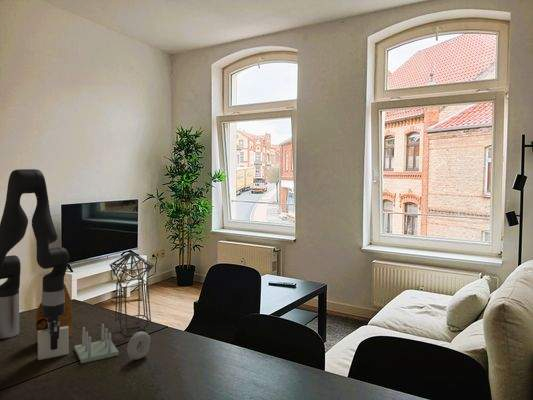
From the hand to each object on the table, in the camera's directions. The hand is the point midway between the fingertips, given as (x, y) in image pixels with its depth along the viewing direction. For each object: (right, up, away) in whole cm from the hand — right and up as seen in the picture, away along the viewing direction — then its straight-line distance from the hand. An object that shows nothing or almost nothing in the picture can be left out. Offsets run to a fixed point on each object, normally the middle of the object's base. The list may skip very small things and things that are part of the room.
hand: (53, 347), depth 150 cm
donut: (+32, -4, -1) cm, 32 cm away
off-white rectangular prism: (0, -3, 0) cm, 3 cm away
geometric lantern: (+21, -3, +25) cm, 32 cm away
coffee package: (-8, -3, +15) cm, 17 cm away
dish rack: (+14, -3, +4) cm, 15 cm away
